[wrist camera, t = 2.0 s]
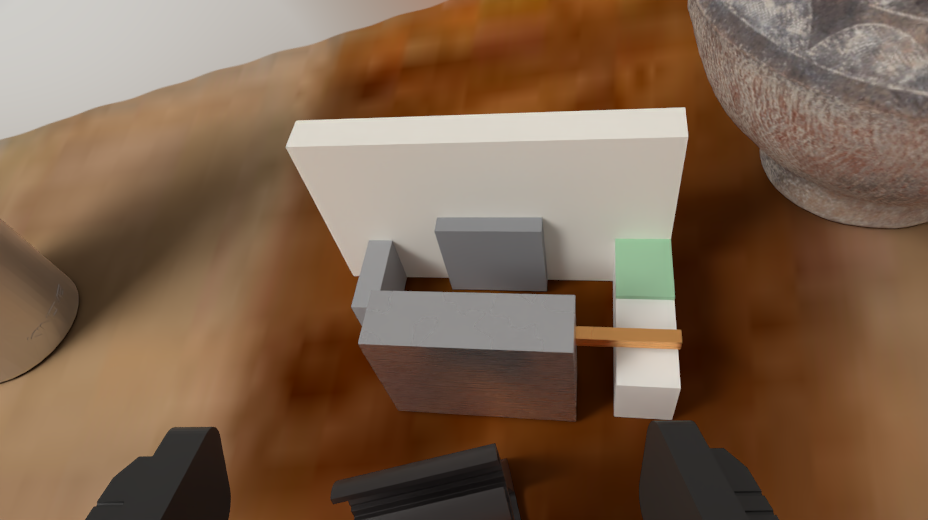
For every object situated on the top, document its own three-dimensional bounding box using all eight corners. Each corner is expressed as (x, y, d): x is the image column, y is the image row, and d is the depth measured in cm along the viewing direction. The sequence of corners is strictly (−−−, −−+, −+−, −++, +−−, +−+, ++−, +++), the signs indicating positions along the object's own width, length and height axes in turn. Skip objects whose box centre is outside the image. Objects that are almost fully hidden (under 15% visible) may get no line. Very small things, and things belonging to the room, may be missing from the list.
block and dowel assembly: (398, 410, 36) (357, 343, 30) (407, 362, 38) (371, 290, 32) (672, 427, 33) (693, 357, 27) (669, 375, 35) (687, 297, 29)
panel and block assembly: (320, 398, 38) (228, 288, 28) (360, 252, 44) (296, 120, 34) (672, 420, 34) (705, 300, 24) (661, 255, 40) (685, 107, 30)
